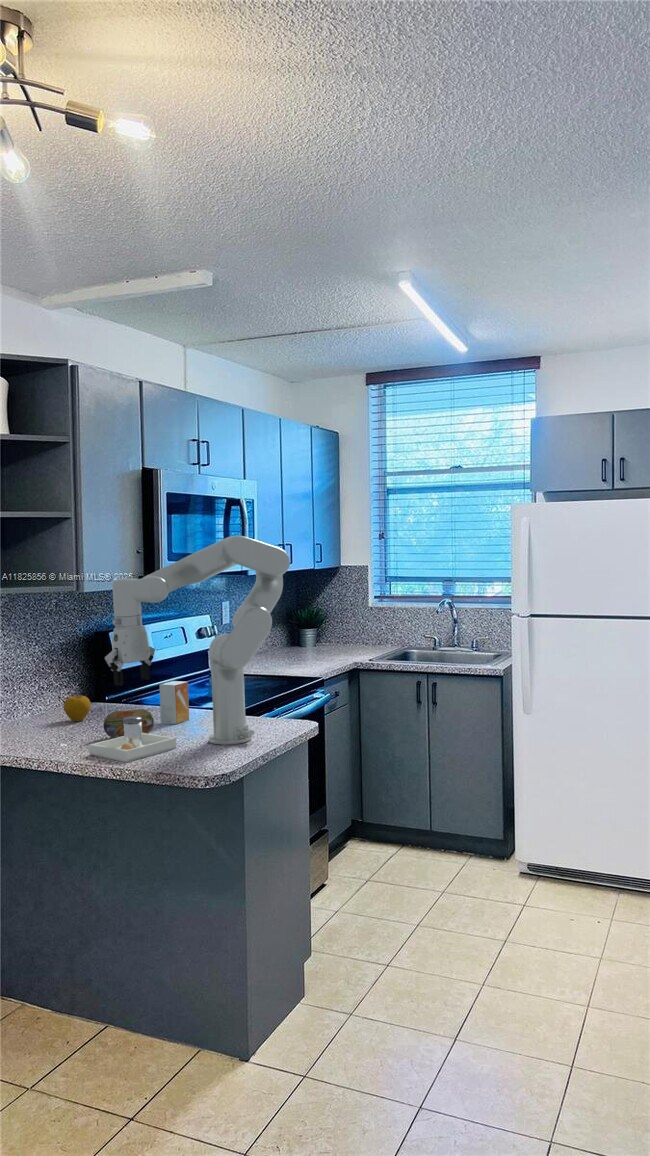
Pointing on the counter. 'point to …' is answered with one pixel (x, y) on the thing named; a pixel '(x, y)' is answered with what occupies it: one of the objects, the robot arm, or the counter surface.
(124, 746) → the ball
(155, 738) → the tray
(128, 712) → the tin
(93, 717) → the counter surface
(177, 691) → the small box
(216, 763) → the counter surface
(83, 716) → the apple
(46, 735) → the counter surface
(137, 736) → the shaker
